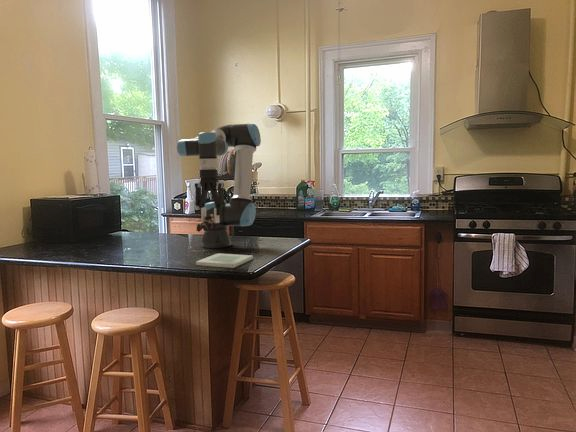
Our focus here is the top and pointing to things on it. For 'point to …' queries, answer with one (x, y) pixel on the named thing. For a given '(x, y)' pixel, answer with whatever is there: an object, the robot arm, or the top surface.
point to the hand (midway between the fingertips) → (210, 222)
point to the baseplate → (224, 260)
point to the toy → (207, 223)
